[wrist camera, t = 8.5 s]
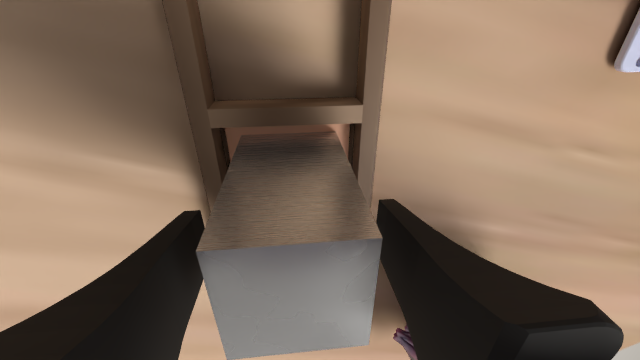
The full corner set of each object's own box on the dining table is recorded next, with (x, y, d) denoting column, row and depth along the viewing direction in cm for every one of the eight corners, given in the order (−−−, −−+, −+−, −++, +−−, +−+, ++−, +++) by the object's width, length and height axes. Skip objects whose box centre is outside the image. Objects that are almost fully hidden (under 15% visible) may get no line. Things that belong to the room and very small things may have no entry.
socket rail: (427, -551, 7) (462, -690, 5) (360, 230, 18) (366, 246, 17) (46, -620, 6) (-22, -798, 5) (226, 239, 17) (221, 257, 16)
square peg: (335, 131, 14) (382, 237, 7) (334, 207, 16) (368, 345, 10) (241, 135, 14) (195, 251, 7) (252, 213, 16) (227, 359, 9)
